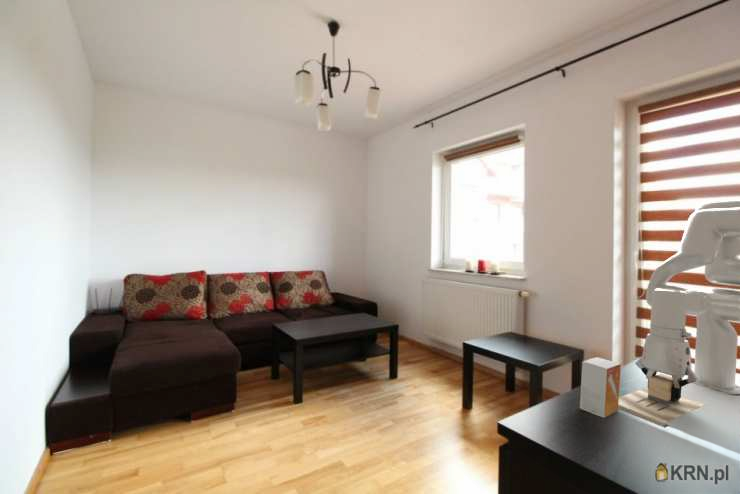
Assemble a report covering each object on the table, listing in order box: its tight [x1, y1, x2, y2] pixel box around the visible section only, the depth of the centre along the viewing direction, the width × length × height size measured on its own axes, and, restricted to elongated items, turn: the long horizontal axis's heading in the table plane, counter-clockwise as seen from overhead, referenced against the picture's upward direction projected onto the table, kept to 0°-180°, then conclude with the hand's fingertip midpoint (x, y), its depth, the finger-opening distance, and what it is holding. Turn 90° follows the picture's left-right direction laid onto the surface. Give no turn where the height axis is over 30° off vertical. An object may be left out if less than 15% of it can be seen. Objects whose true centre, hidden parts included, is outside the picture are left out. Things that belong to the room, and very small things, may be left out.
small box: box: [579, 356, 622, 419], centre depth 96 cm, size 8×6×13 cm
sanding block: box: [647, 373, 679, 405], centre depth 101 cm, size 7×4×6 cm, turn 119°
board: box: [618, 386, 705, 428], centre depth 99 cm, size 23×13×1 cm, turn 119°
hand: (663, 396), depth 101 cm, fingers closed on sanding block, 4 cm apart
